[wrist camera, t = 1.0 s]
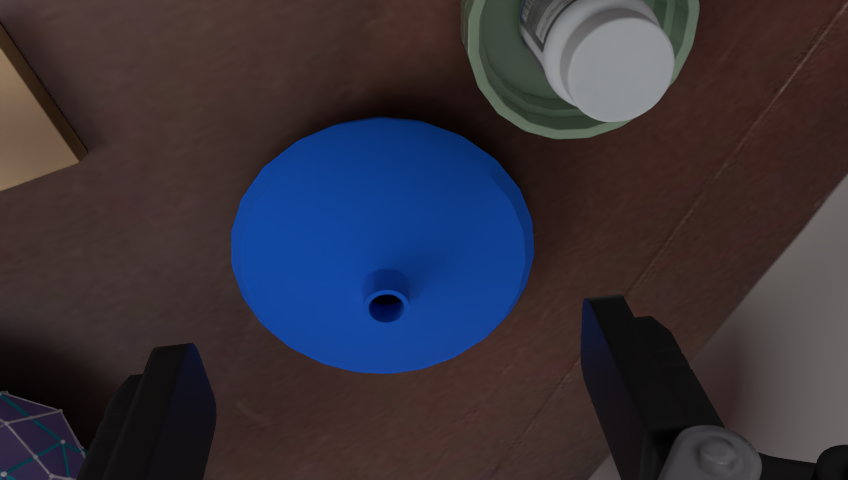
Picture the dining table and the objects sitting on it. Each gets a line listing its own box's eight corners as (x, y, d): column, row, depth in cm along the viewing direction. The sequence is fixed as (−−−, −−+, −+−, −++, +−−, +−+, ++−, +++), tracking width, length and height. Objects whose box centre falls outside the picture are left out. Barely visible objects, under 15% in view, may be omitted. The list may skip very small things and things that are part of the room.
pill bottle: (619, 51, 34) (687, 118, 26) (524, 73, 34) (565, 146, 27) (613, -51, 31) (685, -8, 24) (509, -26, 31) (551, 25, 24)
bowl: (430, -58, 31) (437, -42, 28) (651, -142, 30) (683, -136, 27) (492, 137, 36) (503, 167, 33) (681, 72, 35) (710, 97, 32)
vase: (535, 91, 35) (569, 150, 29) (514, 333, 43) (537, 417, 37) (217, 99, 34) (185, 163, 28) (259, 344, 42) (241, 433, 36)
